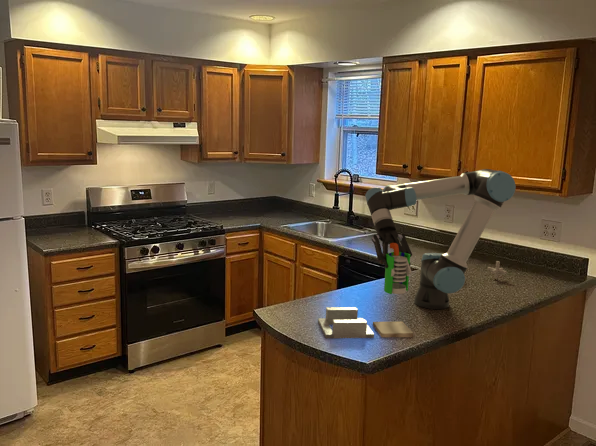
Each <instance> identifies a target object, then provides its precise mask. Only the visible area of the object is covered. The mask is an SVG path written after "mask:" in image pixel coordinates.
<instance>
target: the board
mask: <svg viewBox="0 0 596 446" xmlns="http://www.w3.org/2000/svg"><path fill="white" fill-rule="evenodd" d="M372 326H373V328H374V329H375V330H376V332H377V333H378V334H379V337H380V338H414V332H413V331H412V330H411V329H410V328H409V327H408V326H407V325H406V324H405V323H404V321H401V320H400V321H372Z"/></svg>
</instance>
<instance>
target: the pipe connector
mask: <svg viewBox="0 0 596 446" xmlns="http://www.w3.org/2000/svg"><path fill="white" fill-rule="evenodd" d="M500 263H501V262H500V261H499V260H496V261H495V268H494V267H491V266H488V267H487V271H490V274H492V275H493V274H494V278H498V279H499V274H501V275H507V273H508V271H507V270H504V268H503V267H500V265H501V264H500ZM494 278H493V279H494Z"/></svg>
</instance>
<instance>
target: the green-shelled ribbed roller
mask: <svg viewBox="0 0 596 446" xmlns="http://www.w3.org/2000/svg"><path fill="white" fill-rule="evenodd" d="M389 249H393V251H388V254H386V260H387V264H388V266H389V267H388V268H386V267H385V266H384V267H385V268H384V269H385V271H384V286H383V287H384V289H383V291H384V292H385V293H387V294H388V295H394V294H395V295H404V294H405V293H407V292H408V291H409V279H410V275H409V276H407V274H406V270H405V269H406V268H407V266H405V265H407V262H405V261H407V260H408V263H409V264H411V257H410V254H408V253H402V252H399V247H398V244H397V243H390V244H389ZM404 254H405V255H406V256H407V258H406V257H405V255H404ZM392 269H394V271H395V274H394V276H391V271H392Z"/></svg>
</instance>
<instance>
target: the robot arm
mask: <svg viewBox="0 0 596 446" xmlns="http://www.w3.org/2000/svg"><path fill="white" fill-rule="evenodd" d="M516 188H517V187H516V183H515V179H514V178H513V176H512V175H511V174H509V173H507V172H505V171H502V170H497V169H489V168H483V169H479V170H475V171H469V172H462V173H461V174H460V175H458V176H457V175H456V176H451V177H445V178H444V177H443V178H438V179H437V178H436V179H431V180H423V181H415V182H408V183H402V184H396V185H395V184H388V185H386V186H385V187H383V189H382V188H381V187H372V188H370V189H368V190H367V191H366V193H365V195H364V198H365V201H366V205H367V208H368V210H369V213H370V216H371V219H372V223H373V225H374V230H375V232H376V234H373V236H372V238H371V241H372V242H373V246H374V249H375V253H376V257H377V260H378V261H381V262H382V263H383V264H384V267H386V268H388V267H389V266H388V264H387V260H386V254H388V252H389V245H390V243H397V244H398V247H399V252H402V253H408V254H410V258H411V257H412V256H413V253H412V251H411V248H410V245H409V244H408V242H407V238H406V234H405V233H402V234H399V233H398V232H397V228H396V225H395V224H396V223H394V219H393V217H392V213H391V211H393V210H397V209H402V208H406V207H407V208H408V207H409V208H410V207H411V206H415V205H416V204H417V201H418V200H425V199H426V200H427V199H432V198H440V197H447V196H455V195H460V194H461V195H464V196H473V198H474V199H473V200H474V202H473V204H472V206H471V207H470V210H469V211H468V213H467V215H466V216H465V219H464V220H463V222H462V223H461V226H460V228H459V229H458V231H457V233H456V235H455V237H454V239H453V240H452V242H451V245H450V246H449V248H448V250H447V252H445V253H444V254H441V252H440V253H439V252H438V253H437V252H424V253H423V254H422V256H421V260H420V262H421V264H420V265H421V266H420V276H419V285H418V287H417V290H416V293H415V296H414V299H413V300H414V301H413V302H414V304H415V305H416V306H419V307H421V308H425V309H429V310H445V309H447V308H449V307H450V299H449V298H450V297H449V294H454V293H457V292H459V291H460V290H461V289H462V288H463V287H464V285H465V282H466V277H465V274H466V271H467V270H468V264H467V261H468V260H469V258H470V256H471V254H472V253H473V250H474V249H475V248H476V246H477V243H478V241H479V239H480V238H481V236H482V234H483V232H484V231H485V230H486V227H487V225H488V223H489V221H490V220H491V218H492V216H493V214H494V212H495V211H496V210H500V209H501V208H502V206H503V205H504V202H507V201H508V200H510V199H512V198H513V196H514V194H515V192H516ZM381 243H382V244H381ZM381 246H382V247H381ZM404 255H405V254H404ZM405 257H406V258H407V256H406V255H405ZM405 262H407V265H405V266H407V268H406V269H405V270H406V274H407V276H409V277H410V276H411V274H412V269H411V265H412V263H410V264H409V263H408V260H407V261H405ZM394 274H395V271H394V269H392V271H391V276H394Z"/></svg>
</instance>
